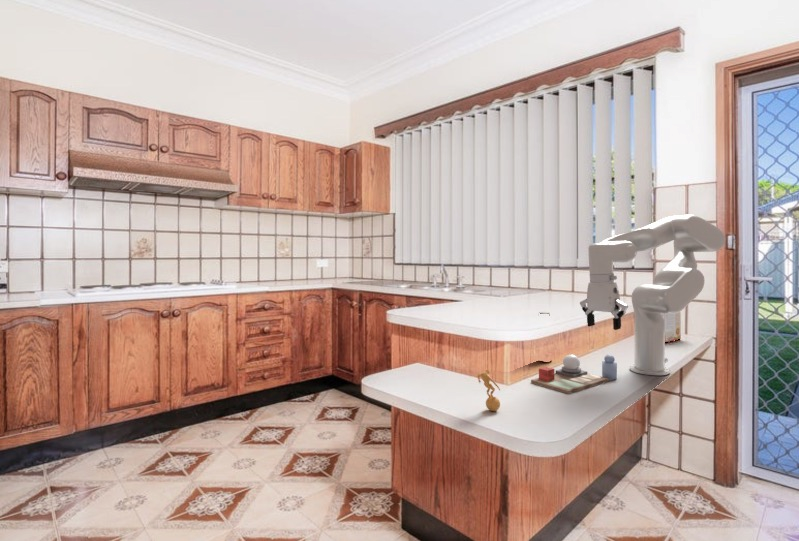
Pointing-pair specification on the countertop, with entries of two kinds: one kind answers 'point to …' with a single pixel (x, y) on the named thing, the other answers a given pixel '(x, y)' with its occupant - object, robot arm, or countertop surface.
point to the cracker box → (672, 326)
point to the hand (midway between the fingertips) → (603, 327)
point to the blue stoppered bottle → (609, 368)
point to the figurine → (492, 401)
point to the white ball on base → (571, 364)
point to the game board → (567, 380)
